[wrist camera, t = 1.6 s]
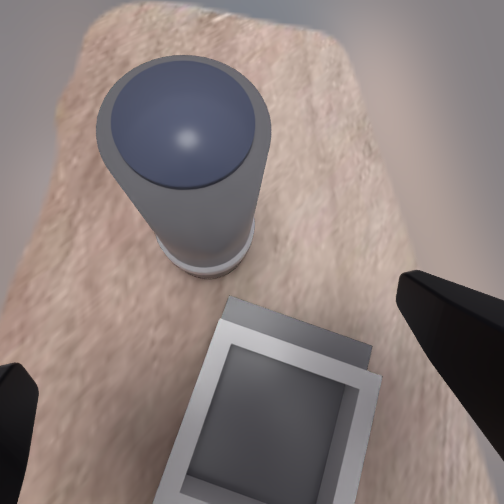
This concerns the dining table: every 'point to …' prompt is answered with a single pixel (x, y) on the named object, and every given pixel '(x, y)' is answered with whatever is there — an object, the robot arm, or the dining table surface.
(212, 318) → the dining table surface
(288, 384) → the grey white tray
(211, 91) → the lens
